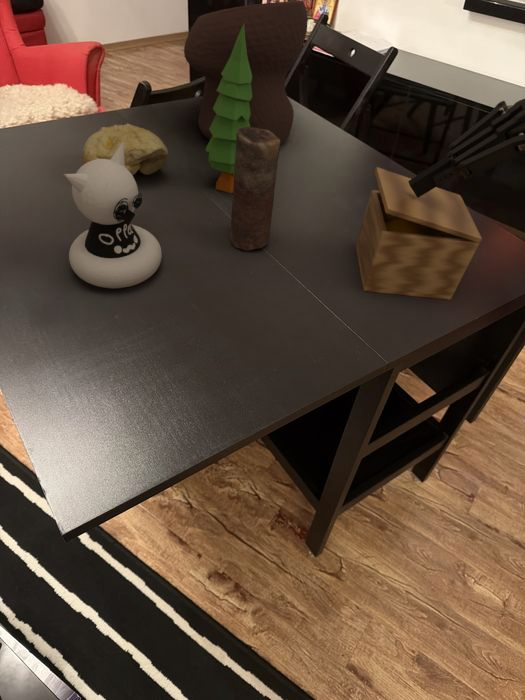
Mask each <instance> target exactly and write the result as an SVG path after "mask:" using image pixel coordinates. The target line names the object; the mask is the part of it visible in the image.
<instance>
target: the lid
mask: <svg viewBox="0 0 525 700" xmlns="http://www.w3.org/2000/svg"><path fill="white" fill-rule="evenodd" d="M374 174H375V179H376V182H377V186H378V191H380V193H381V197H382V201H383V204H384V208H385V212H386V213H387V214H390V215H393V216H396V217H400V218H403V219H406V220H409V221H412V222H415V223H418V224H422V225H425V226H428V227H431V228H434V229H437V230H440V231H444V232H447V233H450V234H453V235H456V236H459V237H462V238H465V239H469V240H472V241H475V242H478V243H479V244H480V243H481V242H482V240H483V238H482V236H481V234H480V232H479V229H478V228H477V225H476V224H475V222H474V219H473V217H472V216H471V214H470V211H469V210H468V207H467V205H466V204H465V202H464V200H463V197H462V196H461V195H460V194H458V193H455V192H452V191H448V190H446V189H443V188H441V187H438V186H437V187H435V188H433V189H432V190H430V191H429V192H427V193H425V194H424V195H422V196H420V197H419V198H417V196H416V195H415V193H414V192H413V190H412V188H411V187H410V185H409V182H408V181H409V180H411V179H412V178H410V177H407V176H406V175H405V176H404V175H401V174H400V173H399V174H398V173H395V172H393V171H389V170H387V169H384V168H381V167H378V166H376V167H375V169H374Z"/></svg>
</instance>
